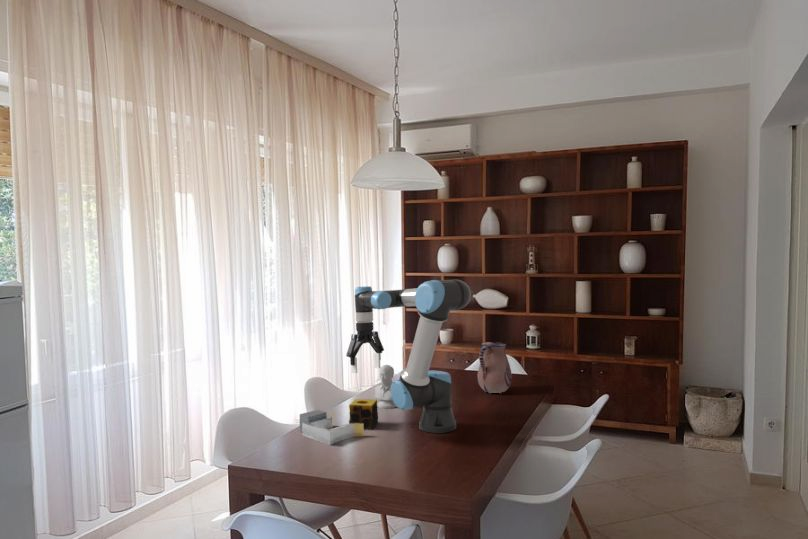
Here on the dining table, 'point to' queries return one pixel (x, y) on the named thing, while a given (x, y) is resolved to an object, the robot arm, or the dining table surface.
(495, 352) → the ceramic pitcher
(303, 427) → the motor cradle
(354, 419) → the yellow and black cube
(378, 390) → the figurine
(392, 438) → the dining table surface
